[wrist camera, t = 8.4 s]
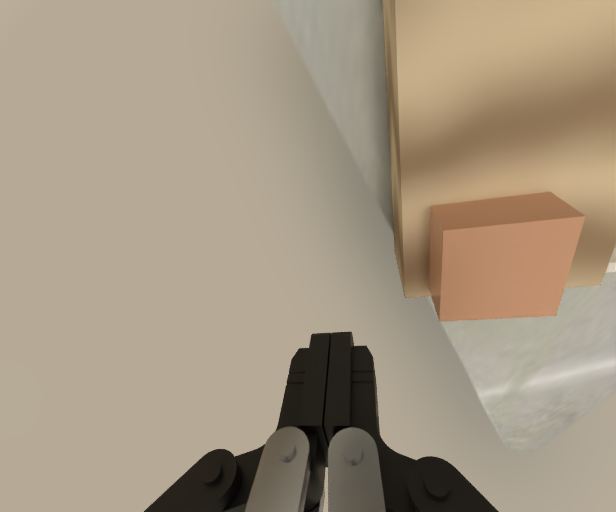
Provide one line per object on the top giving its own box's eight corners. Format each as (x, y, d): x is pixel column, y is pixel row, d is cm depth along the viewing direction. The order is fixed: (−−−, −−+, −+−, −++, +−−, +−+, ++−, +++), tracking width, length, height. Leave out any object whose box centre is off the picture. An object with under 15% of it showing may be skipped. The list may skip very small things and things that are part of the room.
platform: (376, -122, 13) (387, -207, 9) (657, -213, 11) (845, -377, 7) (394, 251, 22) (404, 297, 18) (549, 237, 20) (600, 285, 16)
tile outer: (430, 205, 15) (443, 230, 13) (550, 191, 14) (585, 216, 12) (428, 289, 17) (439, 321, 15) (530, 282, 16) (556, 315, 14)
